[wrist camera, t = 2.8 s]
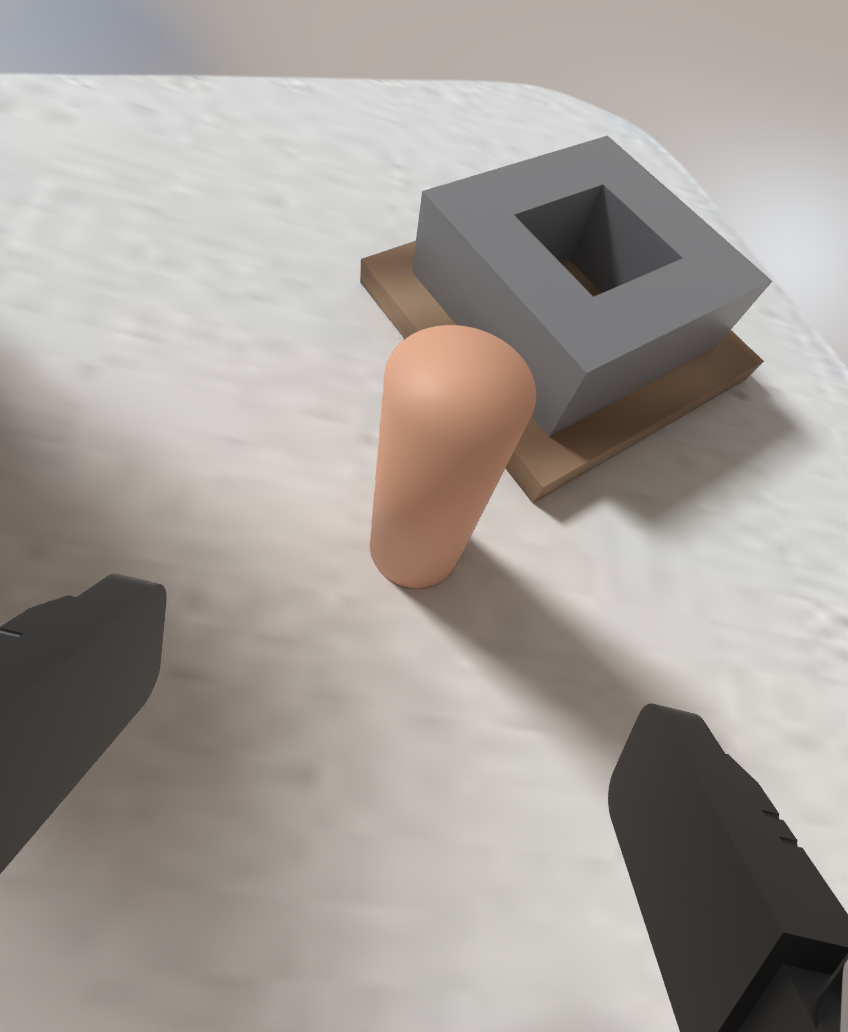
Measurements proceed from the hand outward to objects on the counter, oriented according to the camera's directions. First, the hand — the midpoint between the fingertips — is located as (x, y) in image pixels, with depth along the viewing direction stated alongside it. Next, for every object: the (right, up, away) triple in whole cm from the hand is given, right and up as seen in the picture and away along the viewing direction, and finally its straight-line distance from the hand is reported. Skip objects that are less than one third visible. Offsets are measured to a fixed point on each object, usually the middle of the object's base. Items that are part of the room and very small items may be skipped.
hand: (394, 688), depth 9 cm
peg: (0, +2, +15) cm, 15 cm away
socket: (+8, +14, +20) cm, 26 cm away
